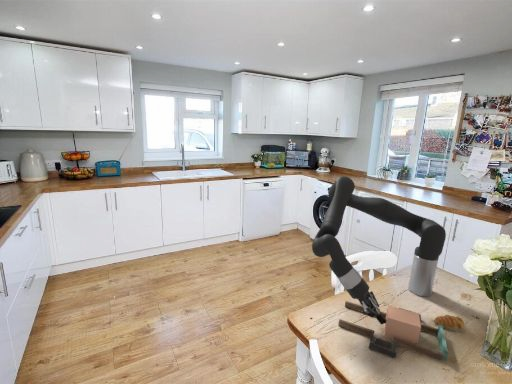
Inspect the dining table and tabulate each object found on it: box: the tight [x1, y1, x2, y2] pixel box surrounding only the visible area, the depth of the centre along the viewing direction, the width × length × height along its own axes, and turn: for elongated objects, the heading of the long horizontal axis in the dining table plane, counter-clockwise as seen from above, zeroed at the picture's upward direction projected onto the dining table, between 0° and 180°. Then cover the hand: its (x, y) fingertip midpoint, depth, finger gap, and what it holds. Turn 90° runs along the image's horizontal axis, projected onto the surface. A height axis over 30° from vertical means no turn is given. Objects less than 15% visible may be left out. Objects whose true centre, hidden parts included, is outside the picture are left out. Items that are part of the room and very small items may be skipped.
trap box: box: [338, 300, 449, 363], centre depth 99 cm, size 27×33×4 cm
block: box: [384, 304, 422, 345], centre depth 97 cm, size 8×10×8 cm
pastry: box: [433, 314, 466, 333], centre depth 103 cm, size 9×7×4 cm
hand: (384, 322), depth 99 cm, fingers closed
